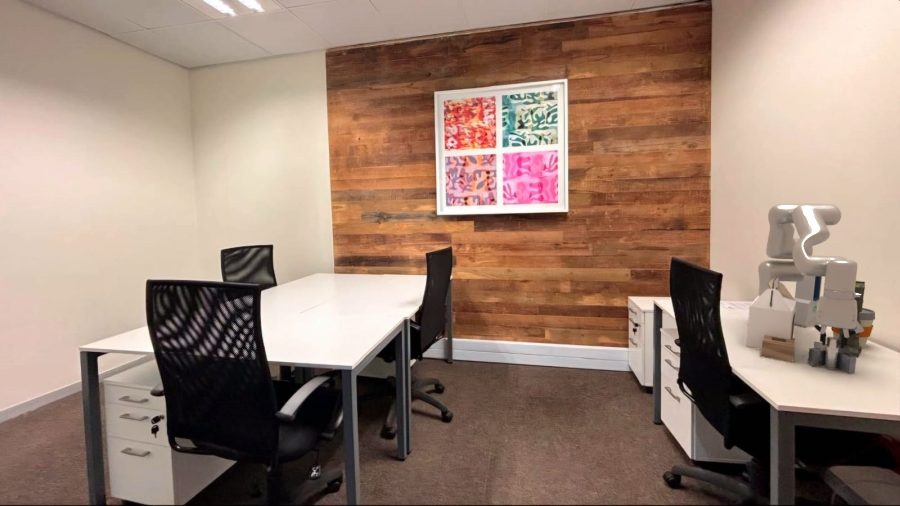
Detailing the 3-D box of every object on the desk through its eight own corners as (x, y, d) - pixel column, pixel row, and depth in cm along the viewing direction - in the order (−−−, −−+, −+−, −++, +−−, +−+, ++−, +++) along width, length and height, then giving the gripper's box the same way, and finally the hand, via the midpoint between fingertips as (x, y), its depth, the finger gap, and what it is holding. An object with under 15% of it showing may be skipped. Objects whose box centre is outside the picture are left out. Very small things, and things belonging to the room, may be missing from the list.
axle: (823, 365, 139) (827, 336, 137) (835, 368, 137) (839, 338, 135) (824, 368, 137) (827, 338, 135) (836, 370, 135) (839, 340, 133)
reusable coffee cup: (832, 337, 167) (835, 303, 165) (874, 345, 157) (879, 309, 155) (823, 343, 160) (827, 308, 158) (867, 352, 150) (872, 315, 148)
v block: (807, 355, 148) (809, 340, 147) (851, 363, 140) (853, 348, 139) (807, 365, 139) (809, 349, 138) (854, 374, 131) (856, 357, 130)
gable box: (753, 333, 174) (758, 272, 171) (792, 340, 165) (799, 276, 161) (746, 347, 158) (751, 280, 155) (788, 355, 149) (795, 284, 146)
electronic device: (806, 328, 179) (812, 264, 176) (786, 323, 186) (792, 262, 183) (820, 324, 184) (826, 262, 181) (801, 320, 191) (807, 260, 188)
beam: (763, 347, 157) (765, 333, 156) (793, 353, 151) (794, 338, 150) (761, 356, 148) (762, 341, 147) (792, 362, 142) (794, 346, 141)
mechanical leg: (835, 341, 160) (842, 274, 151) (860, 345, 155) (869, 276, 146) (833, 358, 151) (841, 288, 142) (860, 363, 146) (870, 291, 137)
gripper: (872, 296, 130) (866, 348, 133) (805, 289, 142) (800, 337, 144) (875, 300, 125) (868, 354, 127) (805, 293, 136) (800, 343, 139)
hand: (832, 345), depth 136 cm, fingers open, 4 cm apart
